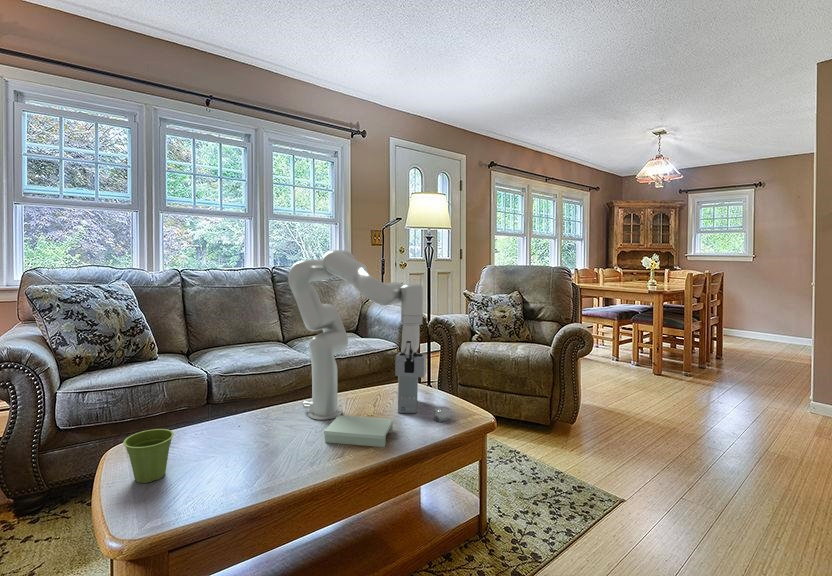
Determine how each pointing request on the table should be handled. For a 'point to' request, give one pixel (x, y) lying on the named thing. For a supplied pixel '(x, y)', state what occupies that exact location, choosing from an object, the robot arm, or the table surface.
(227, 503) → the table surface
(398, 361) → the housing
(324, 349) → the robot arm
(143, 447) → the plant pot
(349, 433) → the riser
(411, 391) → the hard drive box
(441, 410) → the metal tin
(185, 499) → the table surface
